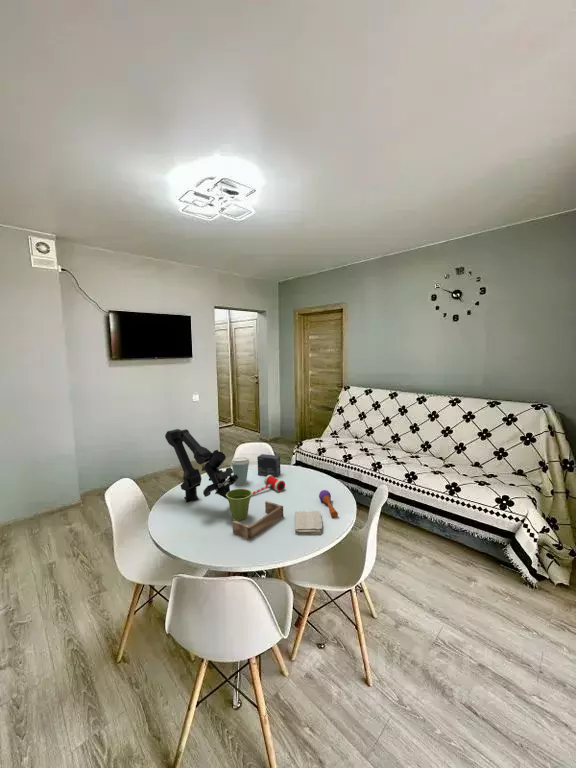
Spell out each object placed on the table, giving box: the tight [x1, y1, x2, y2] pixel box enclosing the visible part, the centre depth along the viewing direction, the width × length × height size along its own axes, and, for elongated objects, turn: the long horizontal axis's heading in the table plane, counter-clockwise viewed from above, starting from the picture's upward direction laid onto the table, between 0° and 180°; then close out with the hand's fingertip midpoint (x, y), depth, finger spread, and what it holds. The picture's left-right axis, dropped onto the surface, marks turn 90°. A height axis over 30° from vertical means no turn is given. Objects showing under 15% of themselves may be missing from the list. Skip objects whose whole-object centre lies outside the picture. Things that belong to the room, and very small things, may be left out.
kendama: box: [318, 489, 339, 519], centre depth 157 cm, size 6×6×20 cm
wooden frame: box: [231, 500, 284, 541], centre depth 143 cm, size 10×23×5 cm, turn 145°
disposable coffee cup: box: [231, 456, 250, 486], centre depth 190 cm, size 11×11×15 cm
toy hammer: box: [251, 475, 286, 496], centre depth 177 cm, size 23×12×6 cm, turn 129°
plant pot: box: [226, 488, 253, 521], centre depth 150 cm, size 12×12×11 cm
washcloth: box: [294, 510, 323, 536], centre depth 143 cm, size 12×18×3 cm, turn 179°
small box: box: [256, 453, 281, 478], centre depth 203 cm, size 13×7×12 cm, turn 69°
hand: (230, 499), depth 153 cm, fingers closed
